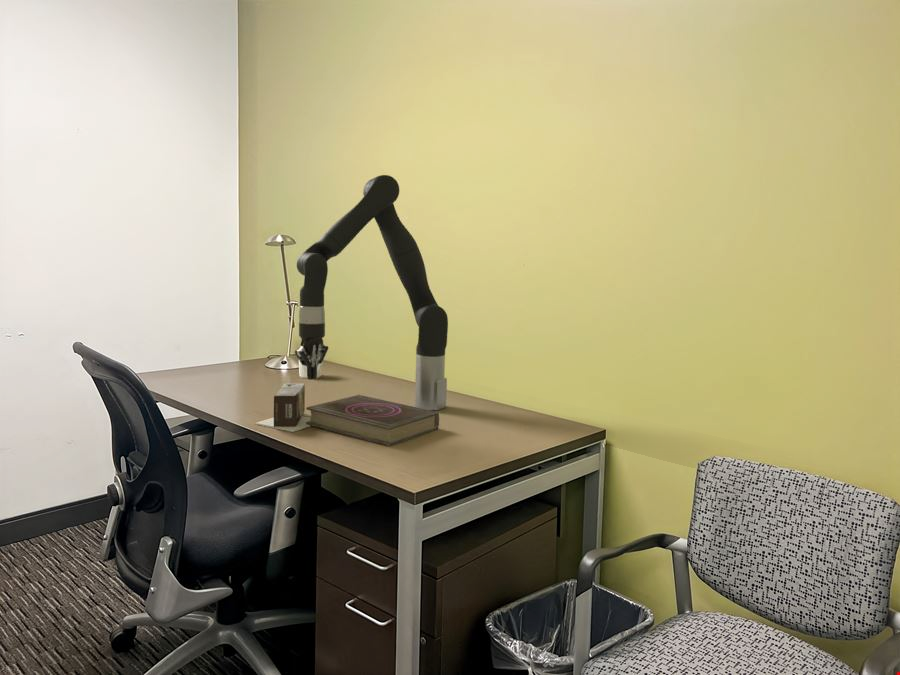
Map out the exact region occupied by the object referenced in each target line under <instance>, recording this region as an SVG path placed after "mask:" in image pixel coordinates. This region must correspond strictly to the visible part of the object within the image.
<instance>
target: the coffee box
mask: <svg viewBox="0 0 900 675" xmlns="http://www.w3.org/2000/svg"><path fill="white" fill-rule="evenodd" d="M305 398H306V383H293V382H292V383H289V382H288V383H285V382H284V384H283V385H282V386H281V388H279V390H278V391H277V392H276V394H274V396H273V417H274V427H289V426H296V425H297V424H298V422H299V420H300V419H301V417H302V415H303V414H305V412H306V411H305V409H306V406H305V402H306V400H305Z"/></svg>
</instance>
